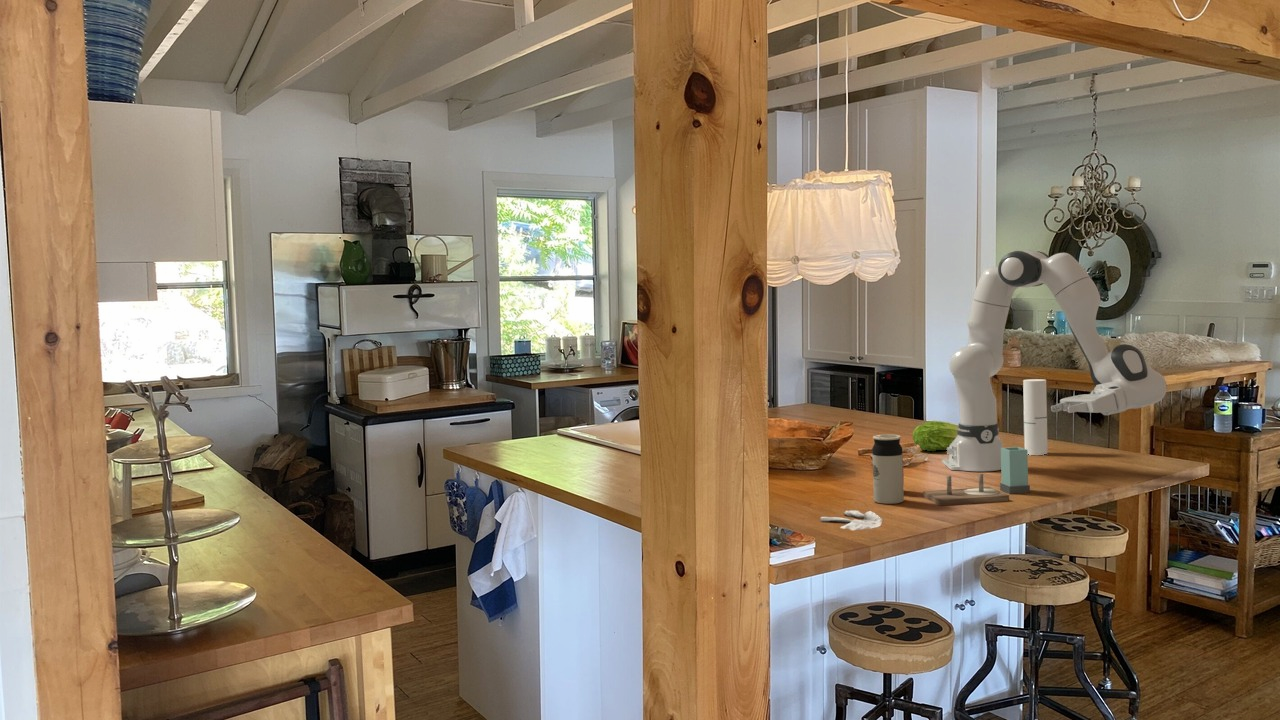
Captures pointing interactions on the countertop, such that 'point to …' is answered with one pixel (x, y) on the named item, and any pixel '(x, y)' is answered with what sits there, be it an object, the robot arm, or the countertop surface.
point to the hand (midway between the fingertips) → (1059, 409)
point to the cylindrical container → (1035, 416)
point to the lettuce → (935, 435)
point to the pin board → (965, 494)
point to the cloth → (856, 524)
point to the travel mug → (887, 469)
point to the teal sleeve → (1014, 470)
